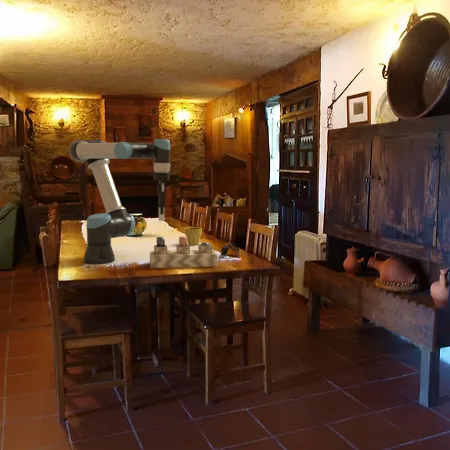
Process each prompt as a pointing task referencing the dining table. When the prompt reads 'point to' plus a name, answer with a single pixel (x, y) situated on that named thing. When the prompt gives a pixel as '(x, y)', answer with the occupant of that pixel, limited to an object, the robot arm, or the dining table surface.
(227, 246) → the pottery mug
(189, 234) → the plant pot
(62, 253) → the dining table surface
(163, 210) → the robot arm
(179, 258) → the beige long block
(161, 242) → the knob near
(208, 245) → the knob far
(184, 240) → the knob middle
